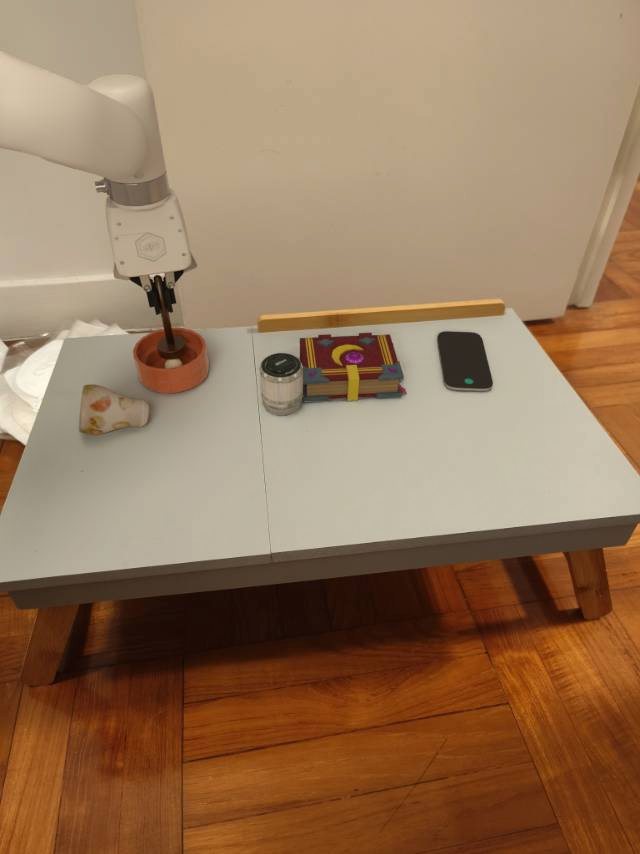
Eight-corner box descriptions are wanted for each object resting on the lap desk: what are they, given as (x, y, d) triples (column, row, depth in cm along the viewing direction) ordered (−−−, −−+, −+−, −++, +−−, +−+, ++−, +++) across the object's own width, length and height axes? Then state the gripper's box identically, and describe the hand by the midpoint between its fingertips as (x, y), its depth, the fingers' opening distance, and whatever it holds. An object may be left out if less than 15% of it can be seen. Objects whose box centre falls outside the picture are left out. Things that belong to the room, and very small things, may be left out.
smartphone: (445, 386, 95) (436, 330, 106) (444, 390, 96) (435, 334, 106) (495, 388, 95) (481, 331, 106) (493, 392, 95) (480, 336, 106)
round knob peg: (159, 362, 95) (142, 285, 85) (157, 345, 98) (140, 269, 88) (188, 357, 96) (174, 281, 86) (184, 341, 99) (170, 265, 89)
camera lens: (311, 403, 93) (311, 362, 88) (280, 423, 90) (278, 381, 85) (284, 384, 96) (283, 343, 91) (253, 402, 93) (249, 361, 88)
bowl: (142, 401, 93) (135, 375, 90) (137, 358, 101) (130, 333, 97) (214, 389, 95) (210, 363, 92) (204, 348, 103) (200, 323, 100)
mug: (158, 437, 88) (110, 405, 80) (104, 457, 91) (52, 427, 83) (160, 395, 92) (114, 359, 84) (108, 414, 95) (59, 382, 87)
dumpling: (164, 361, 94) (163, 355, 97) (166, 378, 95) (165, 372, 98) (182, 359, 95) (181, 353, 97) (184, 376, 96) (182, 370, 98)
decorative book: (298, 358, 101) (298, 333, 98) (395, 354, 102) (398, 329, 99) (303, 404, 93) (303, 378, 90) (408, 398, 94) (412, 373, 91)
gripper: (75, 206, 74) (111, 331, 87) (203, 191, 77) (219, 314, 90) (75, 181, 79) (109, 303, 92) (195, 168, 82) (211, 288, 95)
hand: (163, 308), depth 91 cm, fingers closed on round knob peg, 1 cm apart
